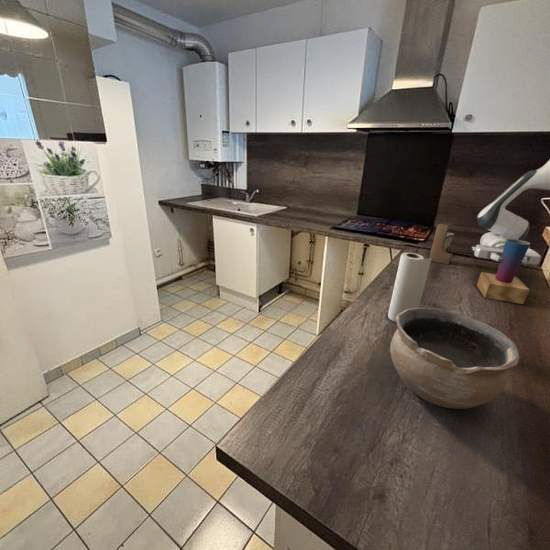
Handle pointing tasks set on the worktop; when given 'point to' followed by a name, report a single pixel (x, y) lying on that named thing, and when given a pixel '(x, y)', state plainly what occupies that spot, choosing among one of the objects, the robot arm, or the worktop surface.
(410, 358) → the ceramic bowl
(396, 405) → the worktop surface
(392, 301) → the paper towel roll
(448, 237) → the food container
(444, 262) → the wooden block
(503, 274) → the cup
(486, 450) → the worktop surface
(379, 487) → the worktop surface
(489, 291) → the riser
